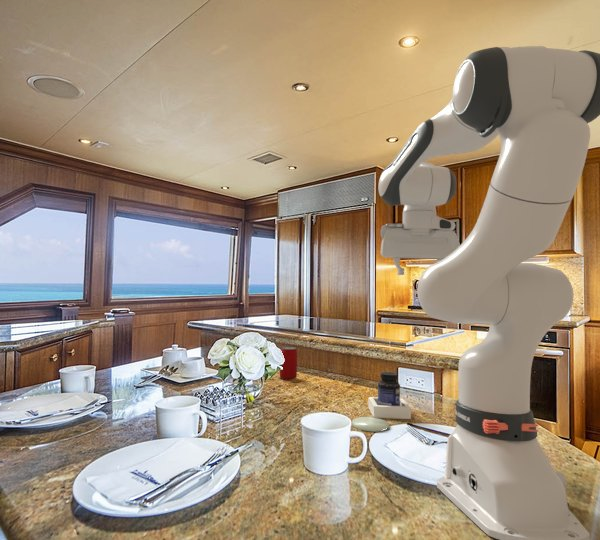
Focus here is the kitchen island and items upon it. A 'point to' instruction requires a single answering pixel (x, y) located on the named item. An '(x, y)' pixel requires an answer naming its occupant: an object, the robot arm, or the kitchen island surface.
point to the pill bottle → (389, 390)
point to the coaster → (369, 424)
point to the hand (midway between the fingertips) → (418, 275)
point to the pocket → (389, 409)
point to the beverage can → (289, 363)
